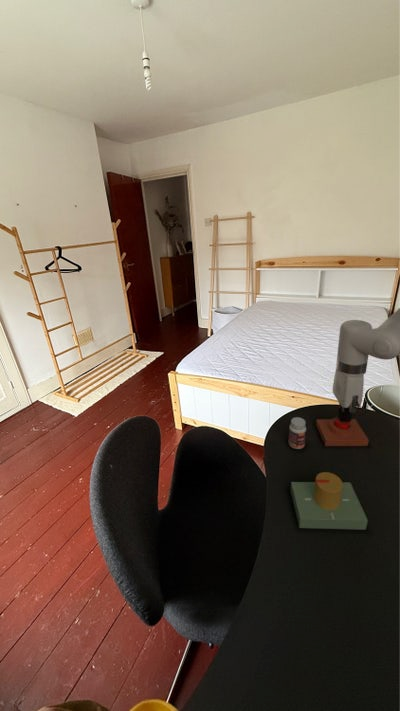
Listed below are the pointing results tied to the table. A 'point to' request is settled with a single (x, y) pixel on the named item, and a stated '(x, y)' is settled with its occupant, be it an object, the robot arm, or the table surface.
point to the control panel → (317, 517)
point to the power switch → (341, 433)
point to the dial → (328, 491)
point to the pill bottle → (297, 433)
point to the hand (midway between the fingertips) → (344, 419)
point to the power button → (341, 424)
